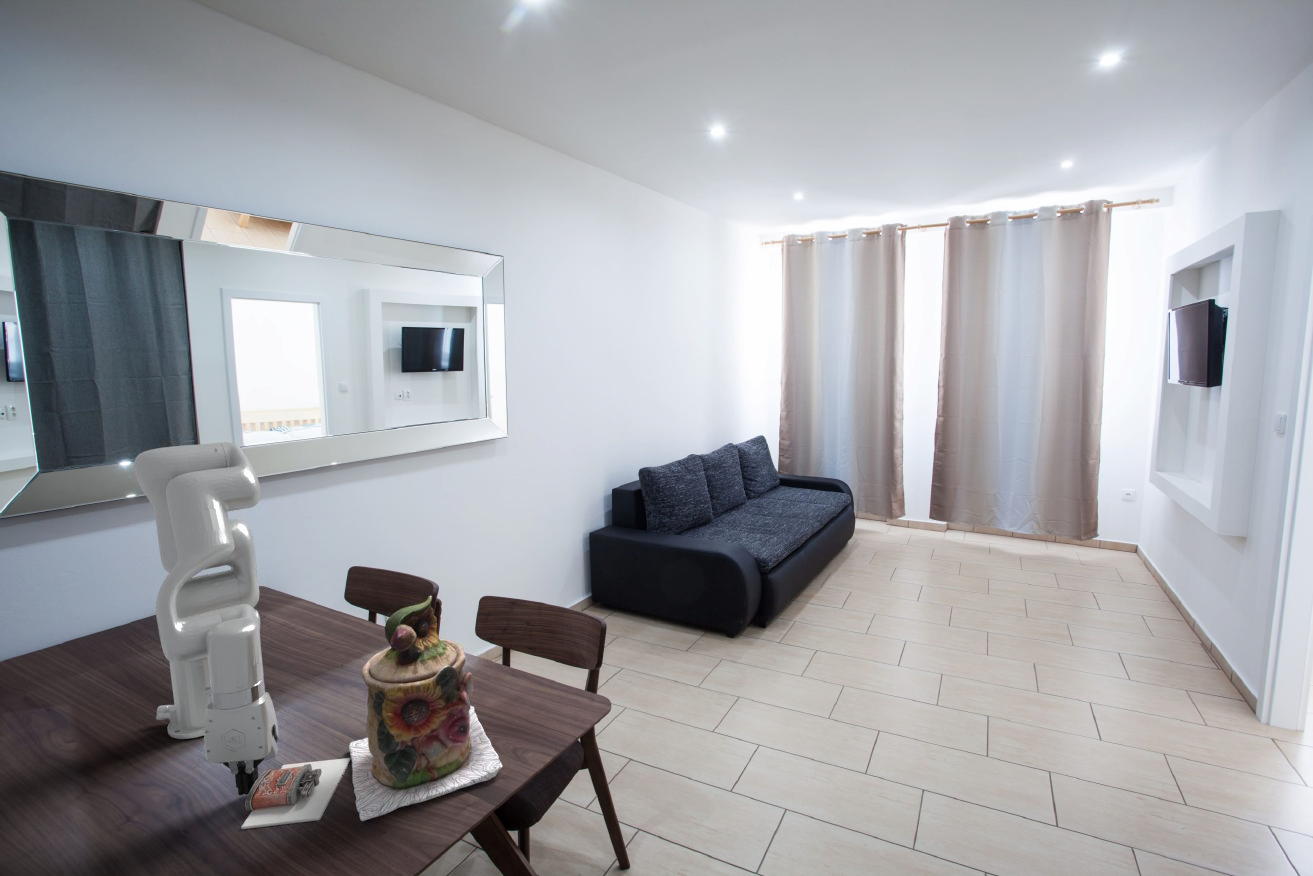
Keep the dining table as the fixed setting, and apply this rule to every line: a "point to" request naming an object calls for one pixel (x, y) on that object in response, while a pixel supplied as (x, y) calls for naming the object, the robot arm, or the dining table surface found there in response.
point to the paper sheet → (303, 807)
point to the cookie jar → (418, 720)
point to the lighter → (282, 786)
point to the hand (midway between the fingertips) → (248, 789)
